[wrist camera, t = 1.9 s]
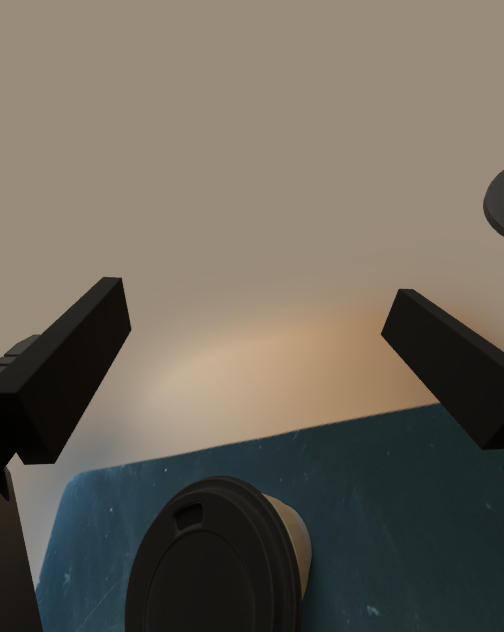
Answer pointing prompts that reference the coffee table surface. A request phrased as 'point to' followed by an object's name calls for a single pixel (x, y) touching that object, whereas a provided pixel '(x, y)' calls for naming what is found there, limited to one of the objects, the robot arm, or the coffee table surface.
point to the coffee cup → (220, 563)
